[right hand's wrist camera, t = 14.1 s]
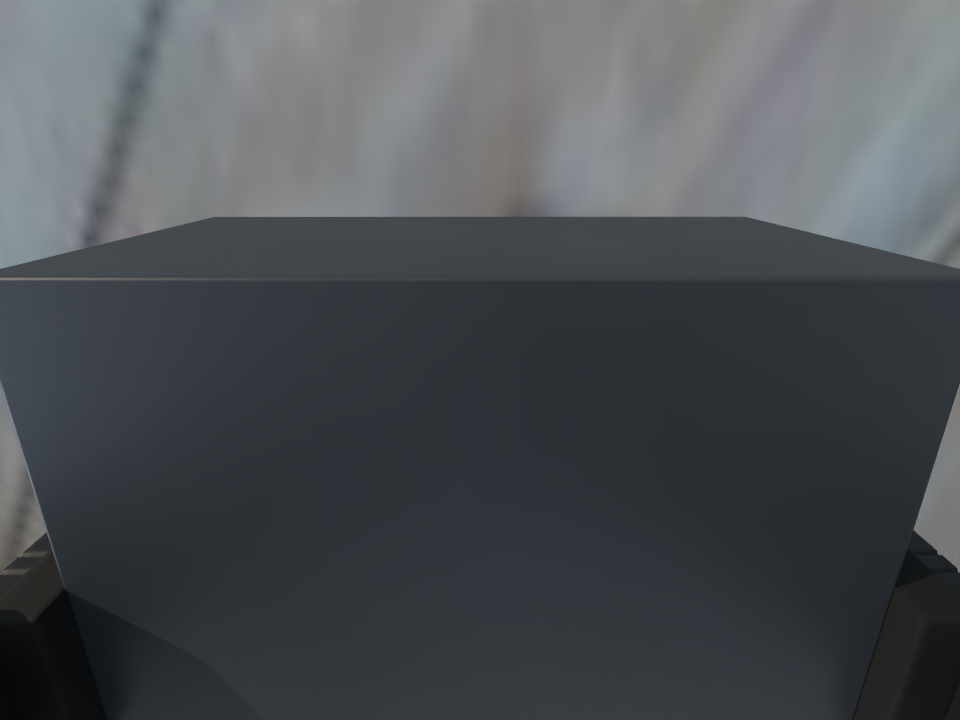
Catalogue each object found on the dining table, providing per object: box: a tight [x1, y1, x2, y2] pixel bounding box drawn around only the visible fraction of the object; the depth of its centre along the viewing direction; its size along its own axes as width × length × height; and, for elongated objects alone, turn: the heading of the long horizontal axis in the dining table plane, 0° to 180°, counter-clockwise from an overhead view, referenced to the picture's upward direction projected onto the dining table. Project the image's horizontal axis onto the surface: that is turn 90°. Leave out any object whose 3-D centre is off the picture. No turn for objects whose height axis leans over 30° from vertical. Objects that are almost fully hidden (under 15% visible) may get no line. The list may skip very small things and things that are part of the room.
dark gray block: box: [0, 217, 960, 720], centre depth 11 cm, size 11×11×6 cm
